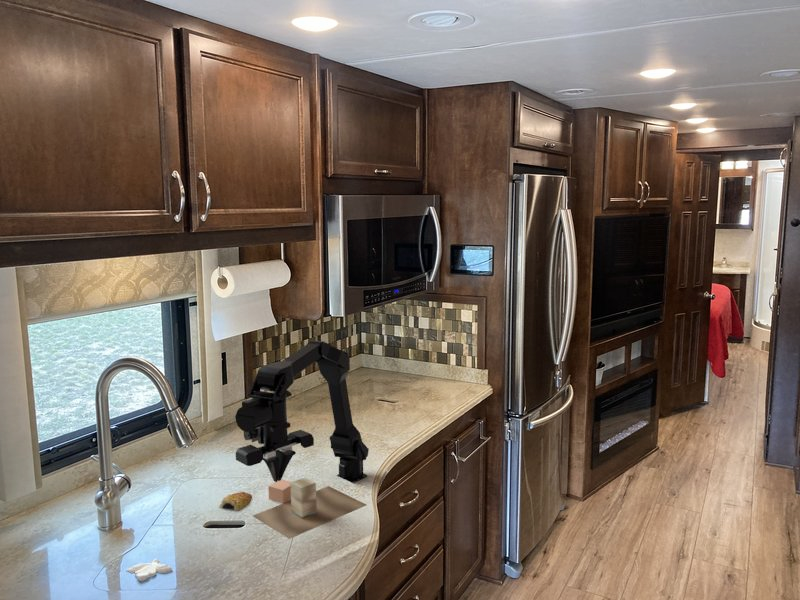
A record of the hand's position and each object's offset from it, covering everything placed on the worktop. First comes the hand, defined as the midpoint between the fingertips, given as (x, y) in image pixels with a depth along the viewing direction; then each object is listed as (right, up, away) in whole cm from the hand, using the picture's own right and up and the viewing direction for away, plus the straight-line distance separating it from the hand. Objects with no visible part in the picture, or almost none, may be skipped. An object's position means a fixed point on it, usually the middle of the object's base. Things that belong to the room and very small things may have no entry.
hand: (277, 480), depth 155 cm
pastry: (-13, -11, +13) cm, 21 cm away
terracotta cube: (-2, -10, +15) cm, 18 cm away
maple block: (+5, -10, +7) cm, 13 cm away
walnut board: (+7, -11, +8) cm, 15 cm away
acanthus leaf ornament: (-25, -16, -16) cm, 33 cm away
